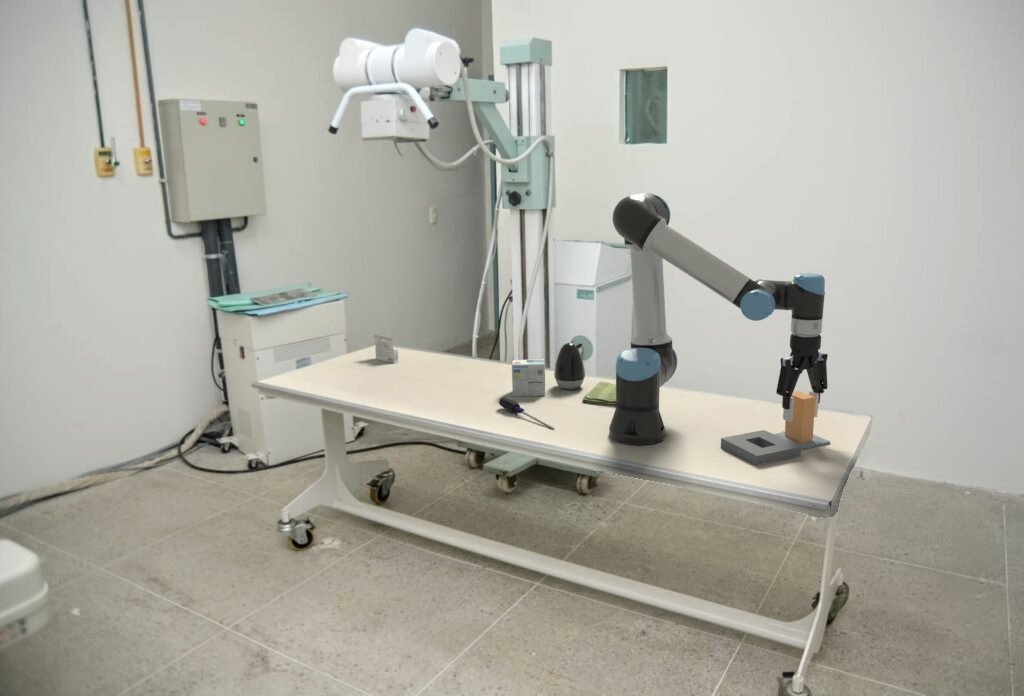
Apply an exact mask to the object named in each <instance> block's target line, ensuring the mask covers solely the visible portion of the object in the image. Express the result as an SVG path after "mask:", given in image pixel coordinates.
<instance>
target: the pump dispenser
mask: <svg viewBox="0 0 1024 696" xmlns="http://www.w3.org/2000/svg"><path fill="white" fill-rule="evenodd" d="M581 347H583V344H582V342H580V343H578V344H575V343H572V342H566V343H564V344H563V345H562V347H561V348H560V350H559V352H558V354H557V358H556V361H555V365H554V373H553V376H554V379H555V382H556V384H557V385H558V386H559V387H560V388H562V389H563V390H575V389H578V388H579V387H581V386H582V384H583V383H584V380H585V378H586V371H585V364H584V361H583V357H582V354H581V351H580V350H579V349H580V348H581Z"/></svg>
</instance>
